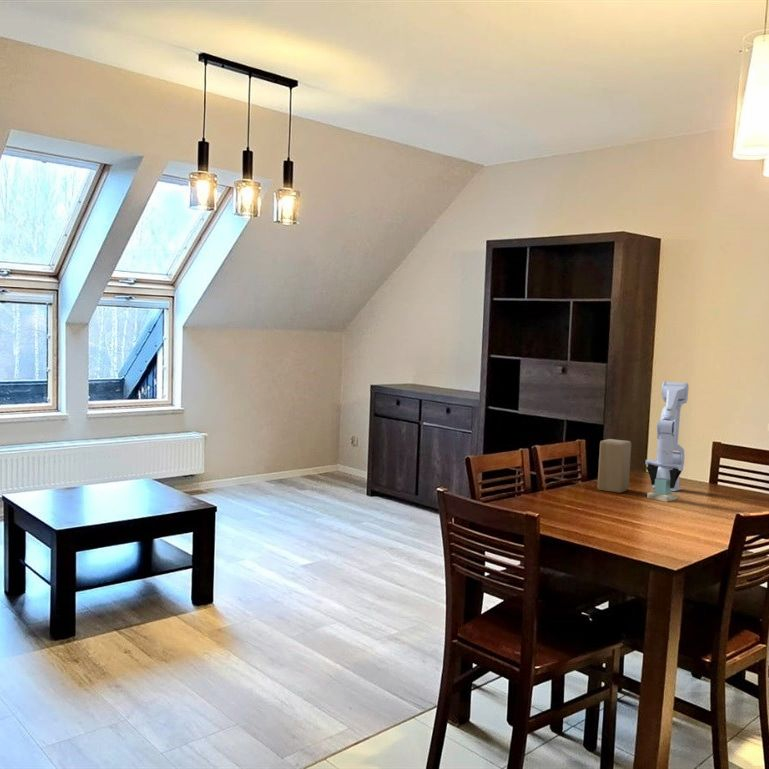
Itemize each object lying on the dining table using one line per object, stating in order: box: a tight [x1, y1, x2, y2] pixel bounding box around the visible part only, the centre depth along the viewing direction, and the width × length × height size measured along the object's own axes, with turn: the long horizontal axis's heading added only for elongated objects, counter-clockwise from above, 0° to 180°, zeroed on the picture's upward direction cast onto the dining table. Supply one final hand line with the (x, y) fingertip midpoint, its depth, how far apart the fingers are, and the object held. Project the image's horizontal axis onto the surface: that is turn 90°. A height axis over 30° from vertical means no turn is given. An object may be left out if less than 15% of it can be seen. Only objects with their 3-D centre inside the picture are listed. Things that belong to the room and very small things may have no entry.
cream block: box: [646, 490, 678, 502], centre depth 296 cm, size 8×8×2 cm
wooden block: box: [597, 438, 632, 494], centre depth 308 cm, size 10×10×20 cm
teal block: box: [653, 478, 672, 495], centre depth 295 cm, size 4×4×6 cm
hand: (662, 486), depth 295 cm, fingers open, 7 cm apart
